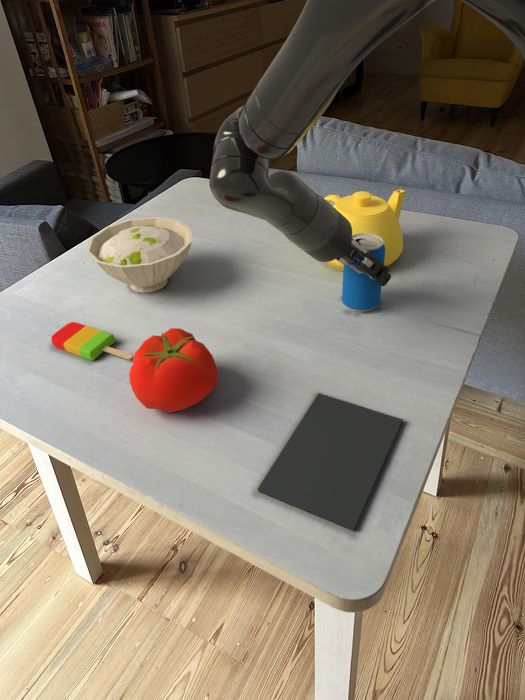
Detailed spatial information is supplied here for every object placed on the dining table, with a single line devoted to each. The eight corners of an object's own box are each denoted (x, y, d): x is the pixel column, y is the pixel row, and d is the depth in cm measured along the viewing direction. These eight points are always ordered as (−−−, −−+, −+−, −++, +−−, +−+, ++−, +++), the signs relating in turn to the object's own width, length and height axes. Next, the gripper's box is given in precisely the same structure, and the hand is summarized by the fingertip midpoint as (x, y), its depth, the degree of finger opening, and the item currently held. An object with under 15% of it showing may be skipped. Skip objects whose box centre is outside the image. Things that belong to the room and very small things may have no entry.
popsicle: (74, 328, 91) (71, 319, 90) (143, 351, 85) (141, 342, 84) (50, 346, 87) (46, 337, 86) (121, 372, 81) (118, 363, 80)
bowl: (105, 322, 92) (91, 271, 86) (91, 270, 106) (77, 223, 100) (212, 295, 97) (206, 245, 91) (185, 249, 111) (177, 203, 105)
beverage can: (350, 290, 96) (354, 228, 89) (384, 298, 93) (392, 236, 86) (335, 308, 92) (338, 245, 84) (371, 318, 89) (377, 254, 82)
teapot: (360, 287, 97) (365, 222, 89) (291, 251, 108) (290, 190, 100) (430, 250, 106) (440, 188, 98) (359, 220, 118) (363, 162, 110)
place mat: (318, 395, 75) (318, 392, 75) (402, 422, 71) (402, 419, 70) (257, 491, 63) (257, 488, 63) (354, 531, 59) (354, 528, 58)
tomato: (204, 431, 71) (196, 384, 66) (120, 416, 74) (105, 369, 69) (233, 370, 81) (228, 324, 75) (158, 359, 84) (148, 314, 78)
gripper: (363, 220, 72) (413, 268, 84) (300, 188, 82) (353, 235, 93) (331, 267, 73) (385, 308, 85) (272, 230, 83) (328, 271, 95)
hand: (368, 270), depth 89 cm, fingers open, 8 cm apart
